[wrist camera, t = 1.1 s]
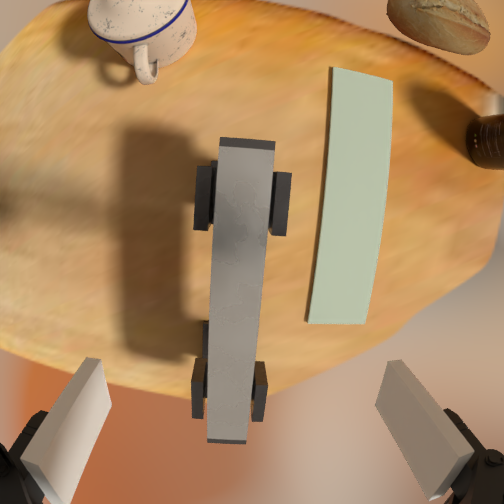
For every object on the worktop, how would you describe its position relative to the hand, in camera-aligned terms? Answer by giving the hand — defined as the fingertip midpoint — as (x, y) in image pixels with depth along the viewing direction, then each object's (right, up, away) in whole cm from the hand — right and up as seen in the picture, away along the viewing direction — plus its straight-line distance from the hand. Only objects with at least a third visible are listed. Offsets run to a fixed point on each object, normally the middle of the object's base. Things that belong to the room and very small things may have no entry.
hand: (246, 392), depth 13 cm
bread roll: (+23, +34, +15) cm, 44 cm away
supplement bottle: (+30, +20, +18) cm, 40 cm away
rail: (-1, +2, +13) cm, 14 cm away
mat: (+11, +12, +19) cm, 25 cm away
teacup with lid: (-10, +28, +14) cm, 33 cm away
